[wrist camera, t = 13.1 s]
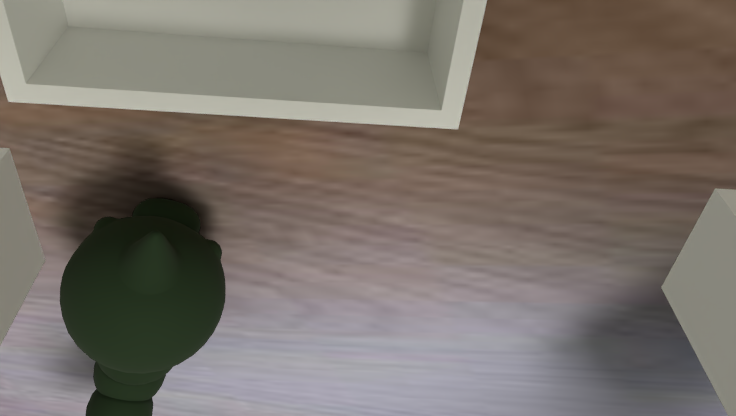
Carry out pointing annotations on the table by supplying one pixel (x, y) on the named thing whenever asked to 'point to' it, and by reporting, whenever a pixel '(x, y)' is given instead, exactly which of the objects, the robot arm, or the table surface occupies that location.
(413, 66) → the open bin
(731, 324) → the robot arm
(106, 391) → the toy figurine
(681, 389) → the table surface
